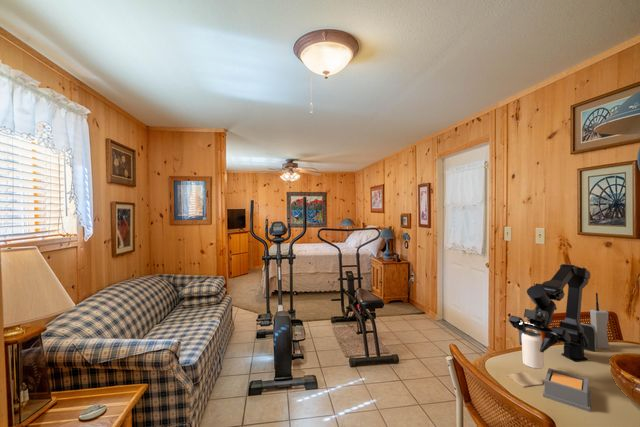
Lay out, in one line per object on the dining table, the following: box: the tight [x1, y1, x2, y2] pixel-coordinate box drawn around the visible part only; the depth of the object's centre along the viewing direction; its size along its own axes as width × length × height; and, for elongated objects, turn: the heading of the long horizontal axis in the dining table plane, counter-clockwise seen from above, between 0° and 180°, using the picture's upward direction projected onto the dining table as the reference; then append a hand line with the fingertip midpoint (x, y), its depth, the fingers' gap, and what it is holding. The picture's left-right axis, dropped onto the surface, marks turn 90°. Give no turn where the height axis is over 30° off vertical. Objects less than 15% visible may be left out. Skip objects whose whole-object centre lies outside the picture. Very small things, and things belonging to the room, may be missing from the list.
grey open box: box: [542, 367, 592, 412], centre depth 99 cm, size 12×12×6 cm
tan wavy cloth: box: [506, 371, 544, 388], centre depth 109 cm, size 8×8×1 cm
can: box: [521, 329, 545, 370], centre depth 108 cm, size 6×6×12 cm
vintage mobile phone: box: [589, 292, 611, 349], centre depth 133 cm, size 4×5×25 cm
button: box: [551, 372, 583, 390], centre depth 99 cm, size 8×8×2 cm
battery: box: [580, 322, 597, 352], centre depth 132 cm, size 7×4×11 cm, turn 38°
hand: (530, 348), depth 107 cm, fingers closed on can, 6 cm apart
